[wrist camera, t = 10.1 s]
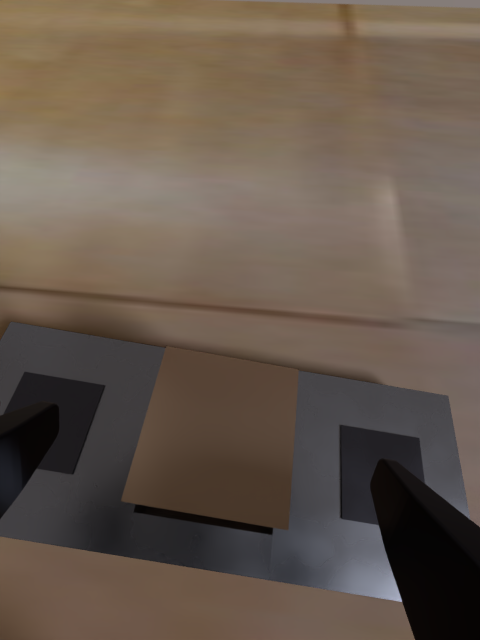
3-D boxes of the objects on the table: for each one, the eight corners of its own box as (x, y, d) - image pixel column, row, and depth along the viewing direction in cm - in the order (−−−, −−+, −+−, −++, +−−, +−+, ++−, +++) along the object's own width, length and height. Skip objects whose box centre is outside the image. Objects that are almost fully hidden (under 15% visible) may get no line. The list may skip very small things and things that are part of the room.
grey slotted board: (415, 406, 19) (449, 395, 16) (437, 590, 15) (489, 616, 12) (39, 343, 19) (9, 320, 16) (-46, 511, 15) (-105, 519, 12)
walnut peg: (245, 499, 16) (288, 530, 7) (170, 486, 16) (120, 501, 7) (255, 422, 18) (298, 369, 9) (188, 410, 18) (166, 345, 9)
